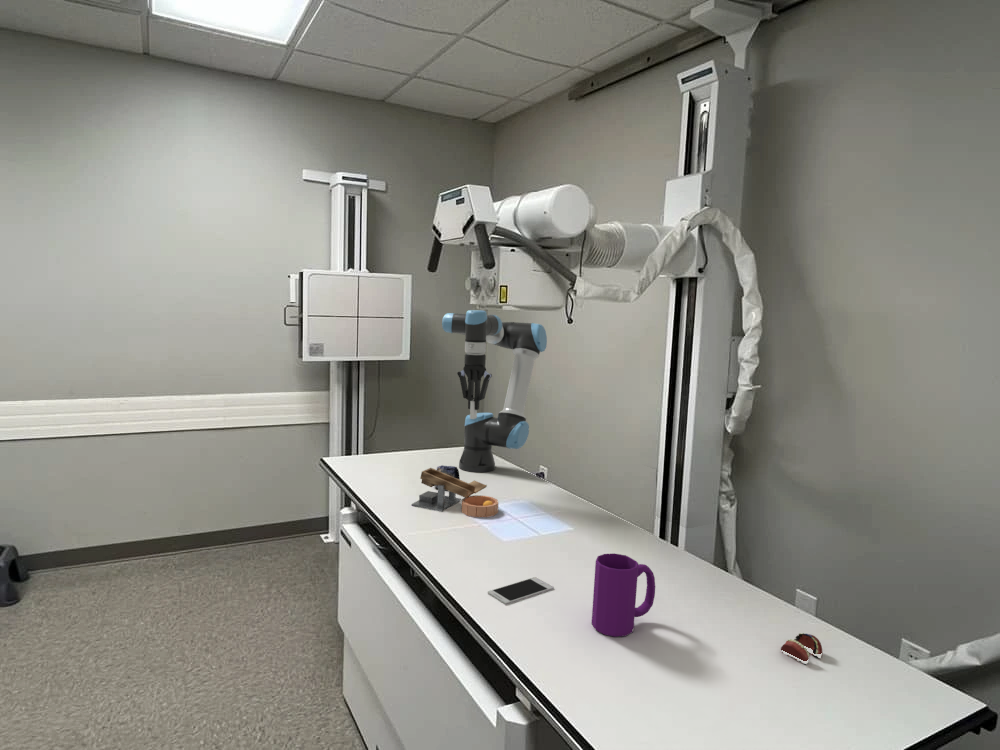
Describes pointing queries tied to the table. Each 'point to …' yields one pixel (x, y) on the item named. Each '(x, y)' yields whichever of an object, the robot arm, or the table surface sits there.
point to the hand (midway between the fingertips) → (473, 418)
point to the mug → (619, 594)
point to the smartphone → (520, 590)
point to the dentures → (802, 646)
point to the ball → (487, 503)
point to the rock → (449, 471)
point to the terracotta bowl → (479, 506)
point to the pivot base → (437, 500)
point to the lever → (450, 483)
